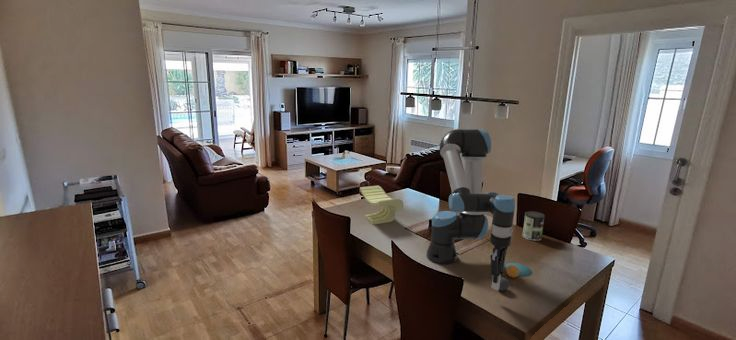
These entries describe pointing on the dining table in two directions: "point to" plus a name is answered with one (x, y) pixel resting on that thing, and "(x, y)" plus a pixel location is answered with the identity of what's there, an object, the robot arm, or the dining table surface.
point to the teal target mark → (520, 269)
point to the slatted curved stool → (381, 204)
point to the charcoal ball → (503, 284)
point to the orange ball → (512, 271)
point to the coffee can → (533, 225)
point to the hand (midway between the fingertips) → (495, 288)
